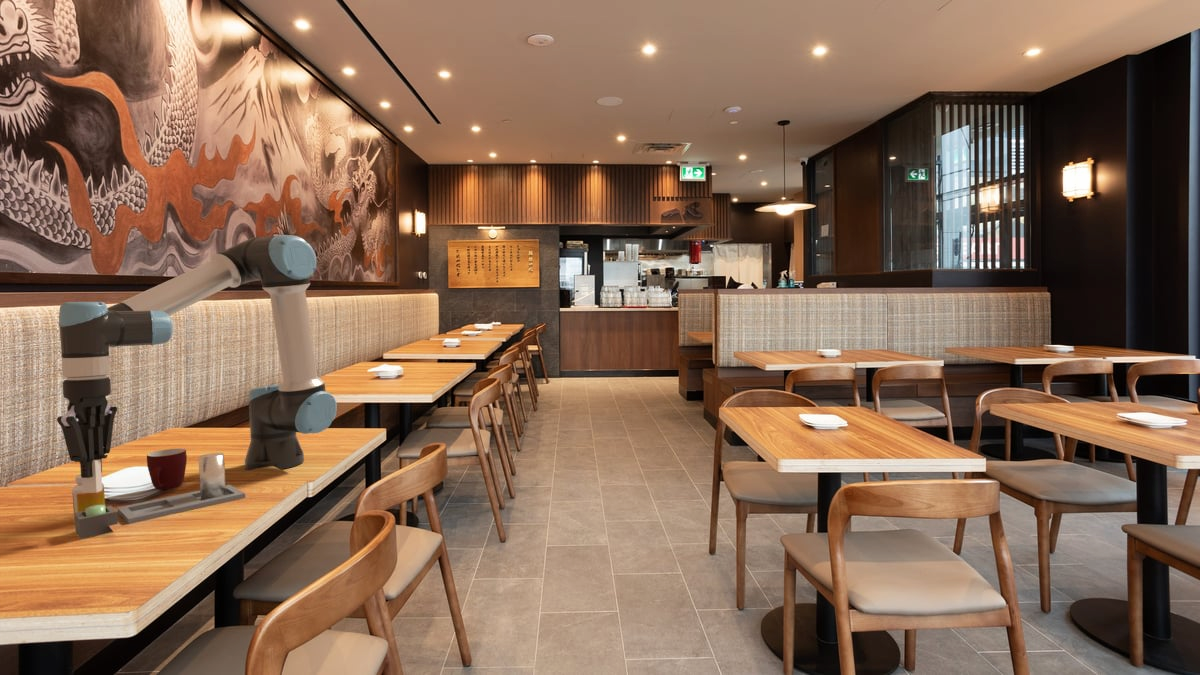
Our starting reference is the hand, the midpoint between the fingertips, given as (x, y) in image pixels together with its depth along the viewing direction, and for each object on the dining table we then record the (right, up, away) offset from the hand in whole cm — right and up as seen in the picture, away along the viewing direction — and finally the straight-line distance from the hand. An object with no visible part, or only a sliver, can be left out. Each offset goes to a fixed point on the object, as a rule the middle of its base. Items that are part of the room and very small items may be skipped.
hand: (92, 491), depth 128 cm
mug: (-3, -7, +26) cm, 27 cm away
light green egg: (0, -7, +1) cm, 7 cm away
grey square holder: (0, -8, +1) cm, 8 cm away
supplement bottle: (-8, -8, +9) cm, 14 cm away
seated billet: (+14, -6, +17) cm, 23 cm away
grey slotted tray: (+10, -8, +13) cm, 18 cm away
